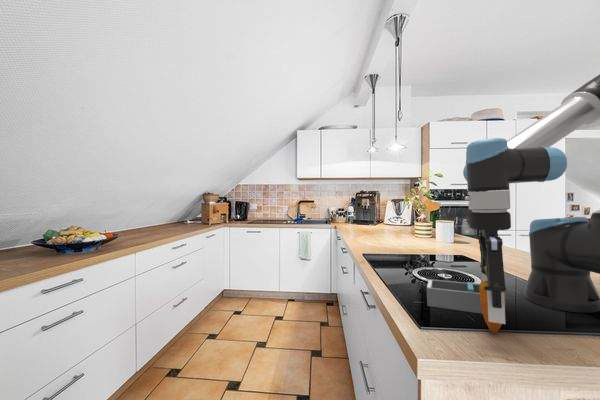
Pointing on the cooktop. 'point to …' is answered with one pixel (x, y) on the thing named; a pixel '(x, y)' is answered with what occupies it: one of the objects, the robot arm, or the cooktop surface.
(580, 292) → the robot arm
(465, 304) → the grey open box
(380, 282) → the cooktop surface
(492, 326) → the carrot
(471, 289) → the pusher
